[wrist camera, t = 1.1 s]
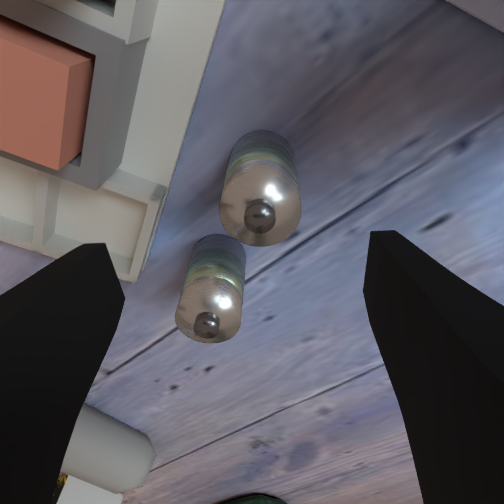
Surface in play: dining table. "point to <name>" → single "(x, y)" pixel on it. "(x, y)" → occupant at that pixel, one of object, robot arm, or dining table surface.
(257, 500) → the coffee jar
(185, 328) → the cell
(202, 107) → the dining table surface
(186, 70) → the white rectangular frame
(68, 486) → the medicine bottle
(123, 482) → the tube
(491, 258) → the dining table surface
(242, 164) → the cell
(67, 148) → the pad
